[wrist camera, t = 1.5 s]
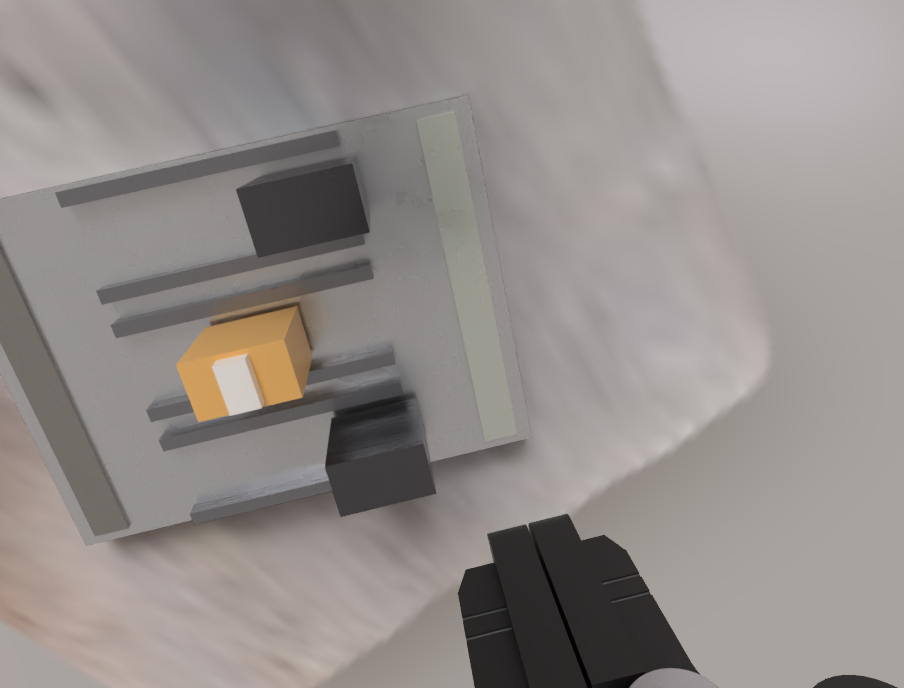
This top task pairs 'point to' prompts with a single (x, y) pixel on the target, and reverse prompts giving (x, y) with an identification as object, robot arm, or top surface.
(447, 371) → the breaker panel
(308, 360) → the toggle
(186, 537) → the top surface
